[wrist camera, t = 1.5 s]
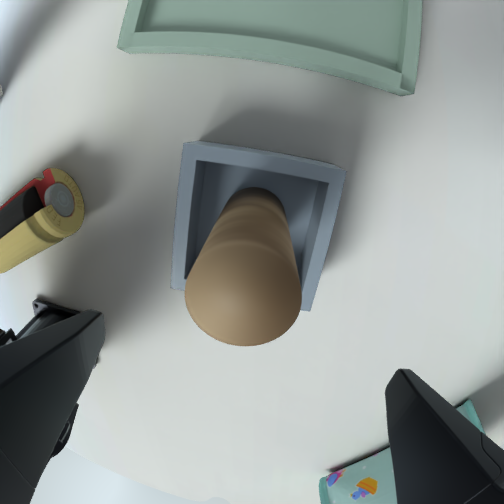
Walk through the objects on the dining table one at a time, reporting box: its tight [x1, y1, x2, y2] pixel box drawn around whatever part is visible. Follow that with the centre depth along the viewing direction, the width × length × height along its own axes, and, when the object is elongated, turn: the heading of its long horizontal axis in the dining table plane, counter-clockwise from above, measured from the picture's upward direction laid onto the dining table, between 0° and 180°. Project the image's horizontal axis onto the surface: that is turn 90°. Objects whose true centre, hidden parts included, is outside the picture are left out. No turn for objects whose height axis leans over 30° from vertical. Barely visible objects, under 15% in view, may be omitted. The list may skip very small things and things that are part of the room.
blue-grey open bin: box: [171, 141, 347, 311], centre depth 19 cm, size 9×9×4 cm
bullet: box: [0, 168, 84, 273], centre depth 19 cm, size 14×5×5 cm, turn 111°
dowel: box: [185, 187, 302, 346], centre depth 15 cm, size 4×4×10 cm
